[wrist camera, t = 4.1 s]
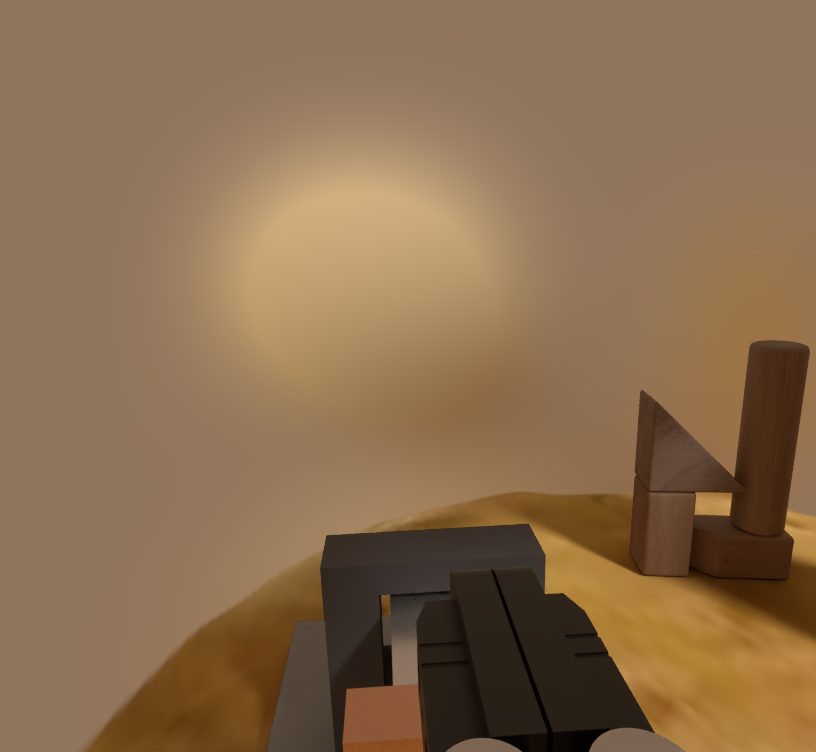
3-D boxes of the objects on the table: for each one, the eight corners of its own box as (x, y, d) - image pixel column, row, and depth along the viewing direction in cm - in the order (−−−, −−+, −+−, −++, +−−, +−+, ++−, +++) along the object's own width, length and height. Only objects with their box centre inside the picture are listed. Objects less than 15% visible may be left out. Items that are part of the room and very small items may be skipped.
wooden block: (628, 551, 45) (642, 341, 41) (764, 555, 44) (793, 338, 40) (641, 577, 42) (659, 350, 37) (790, 582, 40) (825, 348, 36)
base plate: (546, 624, 37) (546, 605, 36) (681, 930, 20) (685, 900, 20) (297, 640, 36) (295, 621, 36) (228, 971, 20) (223, 942, 19)
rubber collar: (525, 699, 29) (528, 523, 27) (540, 745, 26) (545, 555, 24) (340, 712, 29) (326, 535, 26) (336, 761, 26) (320, 568, 23)
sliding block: (486, 616, 31) (486, 506, 30) (569, 900, 18) (578, 726, 16) (366, 624, 31) (359, 513, 29) (356, 918, 17) (342, 743, 16)
